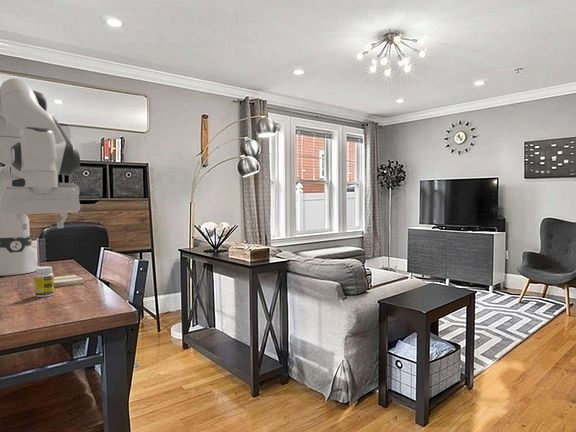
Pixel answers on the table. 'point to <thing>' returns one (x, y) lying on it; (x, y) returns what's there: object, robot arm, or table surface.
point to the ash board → (67, 280)
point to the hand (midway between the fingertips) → (42, 229)
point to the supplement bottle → (44, 282)
